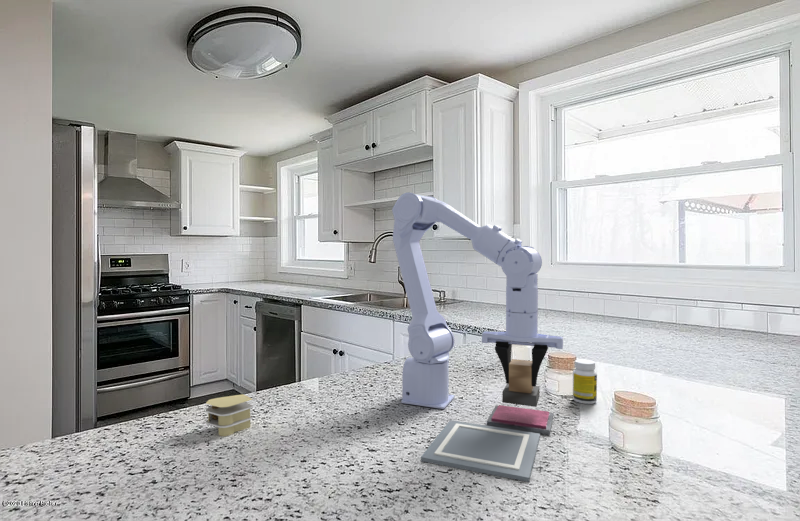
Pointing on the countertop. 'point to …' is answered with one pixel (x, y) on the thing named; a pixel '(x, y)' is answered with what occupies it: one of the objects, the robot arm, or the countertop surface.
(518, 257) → the robot arm
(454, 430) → the marked board
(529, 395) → the stamp
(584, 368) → the supplement bottle
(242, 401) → the yellow white layered block
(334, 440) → the countertop surface
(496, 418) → the ink pad
